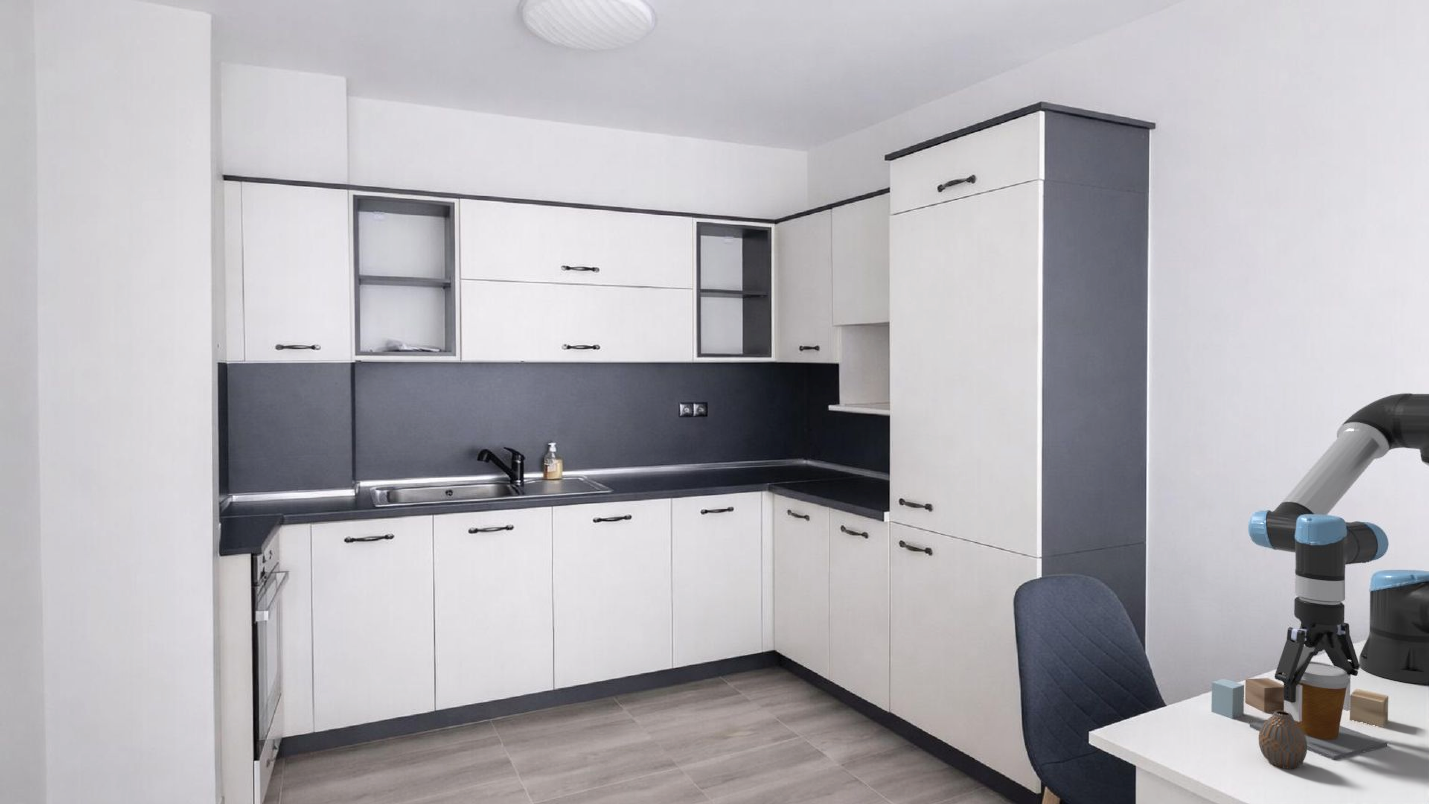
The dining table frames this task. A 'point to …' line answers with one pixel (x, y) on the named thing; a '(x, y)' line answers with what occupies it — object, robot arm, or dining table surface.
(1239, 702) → the block
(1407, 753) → the dining table surface
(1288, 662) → the robot arm
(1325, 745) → the mat
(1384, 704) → the block
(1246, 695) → the block
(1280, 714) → the vase
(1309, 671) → the disposable coffee cup
